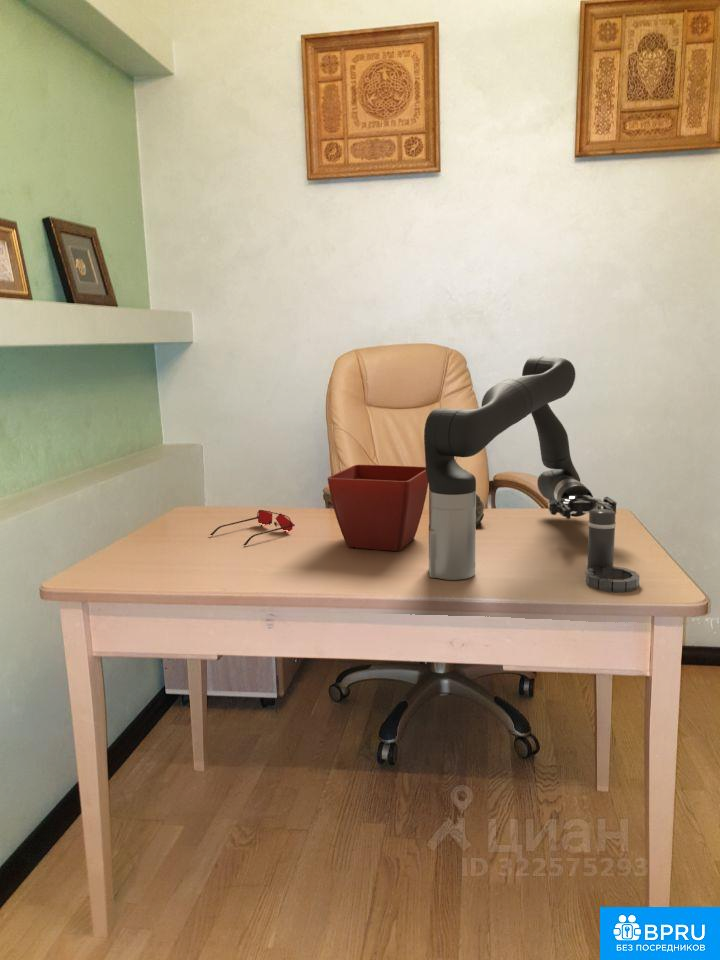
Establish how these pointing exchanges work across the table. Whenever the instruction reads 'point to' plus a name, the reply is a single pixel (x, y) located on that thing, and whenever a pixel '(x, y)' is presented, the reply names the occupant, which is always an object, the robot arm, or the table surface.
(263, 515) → the glasses
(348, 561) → the table surface
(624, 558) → the table surface
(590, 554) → the dark grey canister
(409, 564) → the table surface
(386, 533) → the plant pot
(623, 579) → the block ring
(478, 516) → the fossil
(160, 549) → the table surface
